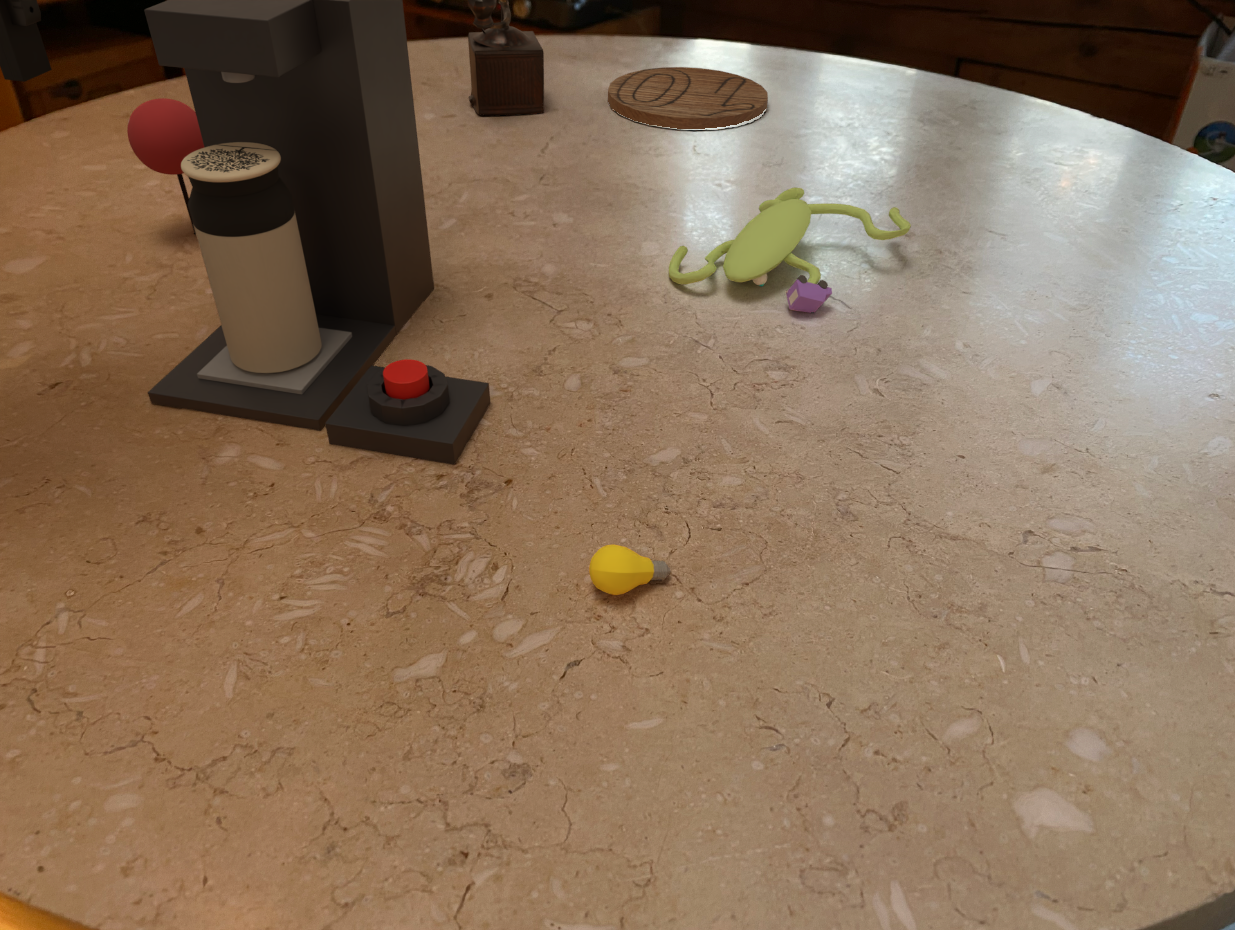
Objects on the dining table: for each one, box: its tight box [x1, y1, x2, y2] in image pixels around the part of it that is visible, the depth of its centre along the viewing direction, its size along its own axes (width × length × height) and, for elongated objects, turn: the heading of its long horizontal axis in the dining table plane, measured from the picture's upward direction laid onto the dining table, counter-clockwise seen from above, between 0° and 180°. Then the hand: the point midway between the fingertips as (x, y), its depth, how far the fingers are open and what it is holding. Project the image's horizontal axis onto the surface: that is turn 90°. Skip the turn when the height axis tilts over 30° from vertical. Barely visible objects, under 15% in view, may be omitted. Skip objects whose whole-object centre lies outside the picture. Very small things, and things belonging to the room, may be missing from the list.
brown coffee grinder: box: [466, 0, 545, 117], centre depth 138 cm, size 16×11×18 cm
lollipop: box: [126, 97, 204, 236], centre depth 103 cm, size 8×8×15 cm
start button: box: [383, 358, 429, 400], centre depth 78 cm, size 4×4×2 cm
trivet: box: [607, 66, 769, 129], centre depth 147 cm, size 25×25×2 cm
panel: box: [325, 364, 491, 466], centre depth 79 cm, size 11×9×4 cm
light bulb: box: [588, 543, 671, 596], centre depth 65 cm, size 3×6×4 cm, turn 106°
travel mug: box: [181, 142, 322, 373], centre depth 80 cm, size 8×8×18 cm
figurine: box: [668, 186, 912, 314], centre depth 103 cm, size 18×27×6 cm
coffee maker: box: [144, 0, 435, 432], centre depth 81 cm, size 16×26×30 cm, turn 167°
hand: (28, 74), depth 63 cm, fingers closed
